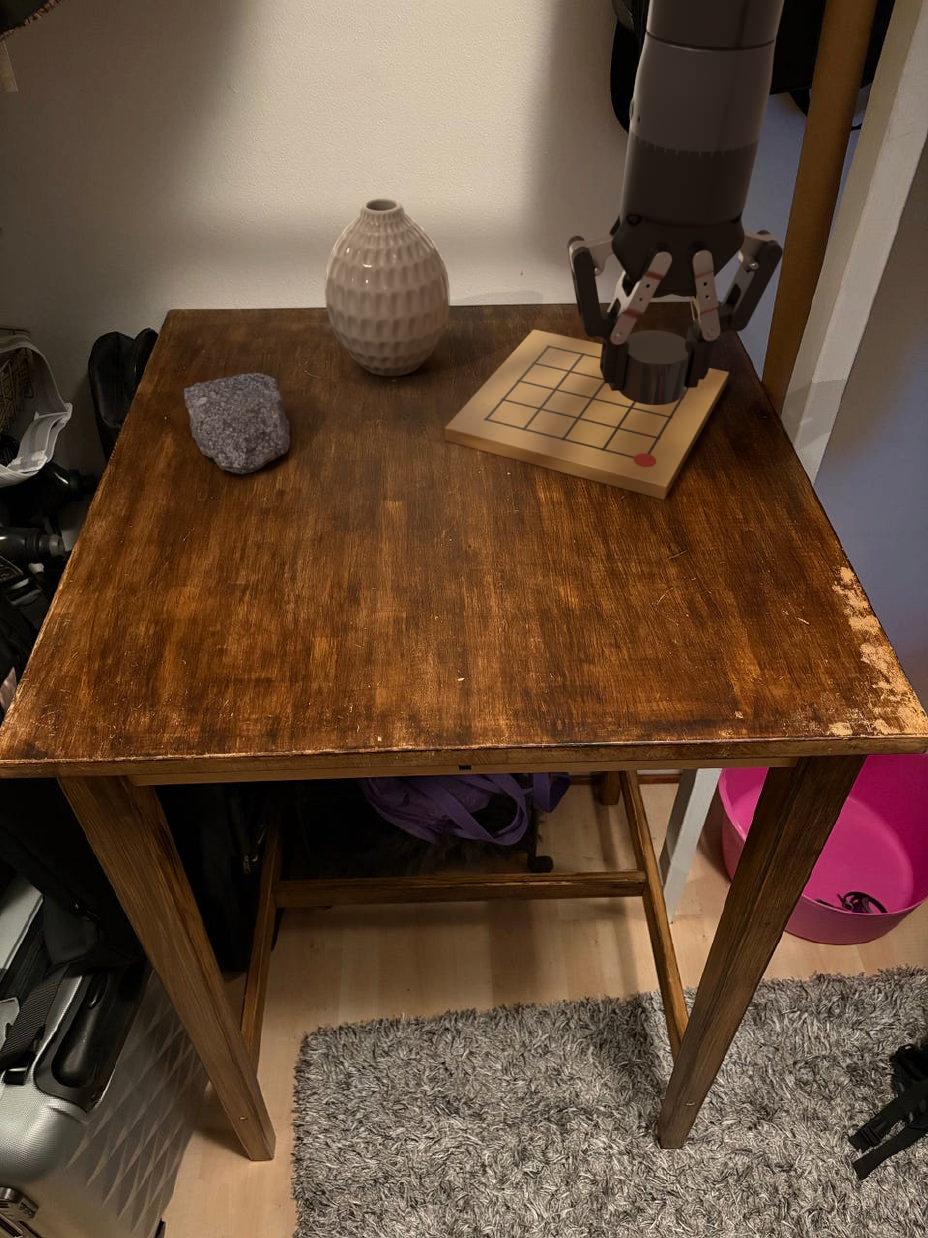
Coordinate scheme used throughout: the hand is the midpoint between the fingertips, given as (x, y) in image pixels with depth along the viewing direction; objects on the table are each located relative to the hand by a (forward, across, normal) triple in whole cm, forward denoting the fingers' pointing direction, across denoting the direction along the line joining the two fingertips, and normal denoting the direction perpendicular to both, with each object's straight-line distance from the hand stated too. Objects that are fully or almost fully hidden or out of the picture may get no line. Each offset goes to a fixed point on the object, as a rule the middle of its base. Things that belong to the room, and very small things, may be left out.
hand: (651, 382), depth 65 cm
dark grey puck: (0, 0, 0) cm, 0 cm away
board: (+16, +1, +22) cm, 27 cm away
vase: (+17, -18, +34) cm, 42 cm away
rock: (+17, -32, +20) cm, 41 cm away
